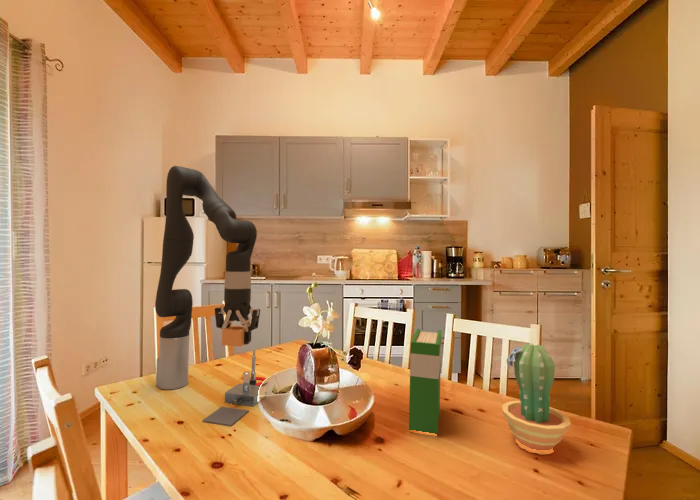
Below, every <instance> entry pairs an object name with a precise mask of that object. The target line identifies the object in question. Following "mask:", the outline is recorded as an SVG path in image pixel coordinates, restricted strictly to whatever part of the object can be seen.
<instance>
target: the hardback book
mask: <svg viewBox="0 0 700 500" xmlns="http://www.w3.org/2000/svg"><path fill="white" fill-rule="evenodd" d="M409 356H410V363H409V364H410V366H409V405H408V409H409V410H408V411H409V413H408V431H409V430H416V431H422V432H429V433H435V434H438V435H439V433H438V432H439V424H438V422H440V412H439V409H441V373H442V372H441V367H442V366H441V365H442V362H441V361H442V330H438V331H437V332H434V331H433V332H432V331H431V332H430V331H421V328H417V329H416V330H415V332H414V335H413V337H412V338H411V341H410V355H409Z"/></svg>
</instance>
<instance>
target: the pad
mask: <svg viewBox="0 0 700 500" xmlns="http://www.w3.org/2000/svg"><path fill="white" fill-rule="evenodd" d="M249 412H250V410H249V409H242V408H234V407H230V406H229V407H228V406H221V407H219V408H218V409H216V410H215V411H213V412H211V413H210V414H209V415H208V416H206V417H205V418H204V419H202V422H203V423H206V424H207V423H208V424H213V425H214V424H215V425H218V426H219V425H220V426H226V427H232V426H233V425H235V424H236V423H238V422H239V421H240V420H241V419H242V418H244V417H245V416H246V415H247V414H248V413H249Z"/></svg>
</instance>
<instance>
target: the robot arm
mask: <svg viewBox="0 0 700 500" xmlns="http://www.w3.org/2000/svg"><path fill="white" fill-rule="evenodd" d="M165 185H166V187H165V189H166V191H165V192H166V194H165V196H166V198H165V199H166V201H165V202H166V205H165V206H166V208H165V209H166V210H165V223H164V230H163V231H164V232H163V239H162V251H161V252H162V253H161V265H160V274H159V279H158V284H157V290H156V294H155V295H156V296H155V304H154V305H155V306H154V309H155V313H156V315H157V317H159V318H170V317H175V318H174V319H173V320H172V321H171V322H169V323H168V324H166V325H164V326H162V327H161V328H160V330H159V354H158V355H159V356H158V357H157V358H156V366H155V367H156V369H155V370H156V371H155V372H156V374H155V387H158V388H159V389H161V390H176V389H179V388H180V389H181V388H183V387H185V386H187V385H188V384H189V365H190V364H189V360H190V359H189V358H190V330H191V326H192V317H193V316H192V314H193V303H194V302H193V295H192V293H191V291H190V290H189V289H186V288H177V289H173V288H174V287H173V286H174V284H175V280H176V278H177V275H178V274H179V272H180V271H181V270H182V269H183V268H184V266H185V265H186V264H187V263H188V261H189V260H190V258H191V256H192V255H193V254H192V253H193V247H194V238H195V236H194V231H193V228H192V226H191V225H190V221H188V219H187V216H186V215H185V211H184V206H183V203H184V202H183V196H186V197H195V198H197V199H199V200H201V201H202V205H201V206H202V210H203V212H204V214H205V215H206V217H207V218H208V219H209V220H210V221H211V222H212V223H213V224H214V225H215V227H216V229H217V231H218V234H219V237H221V239H222V240H223V241H225V242H227V243H229V244H230V243H231V244H237V247H236V249H235V250H233V251H229V252H227V253H226V255H225V256H226V257H225V275H224V288H223V289H224V291H223V293H224V294H223V296H224V298H223V302H224V306H218V307H215V308H214V316H215V317H214V318H215V326H216V328H217V329H220V330H221V331H222V330H223V329H225V328H228V327H231V326H232V324H233V322H235V321H236V322H239V323H240V324H241V325H240V326H243V328H244V330H245V332H244V345H243V346H245V345H249V344H250V343H251V342H252V331H254V330H256V329H258V328H259V323H260V316H261V309H260V308H252V306H251V301H252V300H251V299H252V298H251V297H252V276H251V275H252V274H251V261H252V259H251V258H252V255H253V252H254V249H255V245H256V241H257V237H258V236H257V235H258V233H257V232H258V230H257V227H256V226H255V224H254V223H253V222H252V221H250V220H245V219H244V220H243V219H237V214H236V212H235V210H234V209H233V208H232V207H231V206H230V205H229V204H227V202H226V201H224V200H223V199H222V198H221V196H219V194H218V193H217V192H216V190H215V189H214V187H213V186H212V185H211V183H210V181H209V180H208V178H207V177H206V176H205V175H204V174H203V172H201V171H199V170H197V169H193V168H188V167H184V166H180V165H173V166H172V167H170V168H169V170H168V172H167V176H166V184H165ZM224 314H225V315H226V316H224ZM249 315H250V316H251V319H250V317H249ZM224 317H225V318H224Z"/></svg>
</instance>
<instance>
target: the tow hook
mask: <svg viewBox="0 0 700 500" xmlns="http://www.w3.org/2000/svg"><path fill="white" fill-rule="evenodd" d="M256 358H257V356H256V349H253V350H252V356H251V372H250V383H249V385H256V386H260V385H261V384H262V382H263V381H264V380H265V379H266V377H264V376H256ZM257 381H260V382H257Z"/></svg>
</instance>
